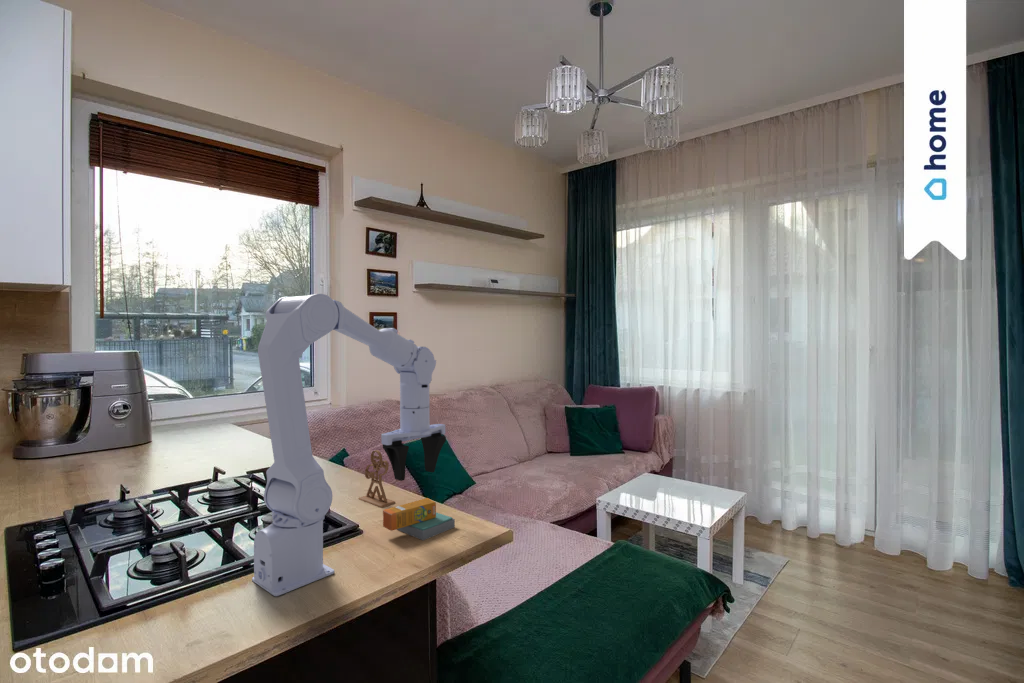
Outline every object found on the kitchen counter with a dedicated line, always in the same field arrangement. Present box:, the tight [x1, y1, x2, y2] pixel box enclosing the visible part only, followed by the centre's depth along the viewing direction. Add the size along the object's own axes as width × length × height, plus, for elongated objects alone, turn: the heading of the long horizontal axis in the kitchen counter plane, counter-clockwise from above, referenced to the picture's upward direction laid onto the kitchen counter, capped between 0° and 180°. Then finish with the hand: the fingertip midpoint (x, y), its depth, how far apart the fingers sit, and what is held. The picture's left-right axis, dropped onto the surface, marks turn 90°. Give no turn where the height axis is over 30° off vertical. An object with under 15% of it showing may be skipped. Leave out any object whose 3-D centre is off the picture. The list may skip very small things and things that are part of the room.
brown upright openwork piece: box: [358, 449, 396, 509], centre depth 112 cm, size 9×4×12 cm, turn 51°
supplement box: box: [382, 497, 437, 532], centre depth 95 cm, size 3×3×10 cm
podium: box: [396, 511, 456, 541], centre depth 97 cm, size 8×8×2 cm
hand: (415, 475), depth 99 cm, fingers open, 7 cm apart
